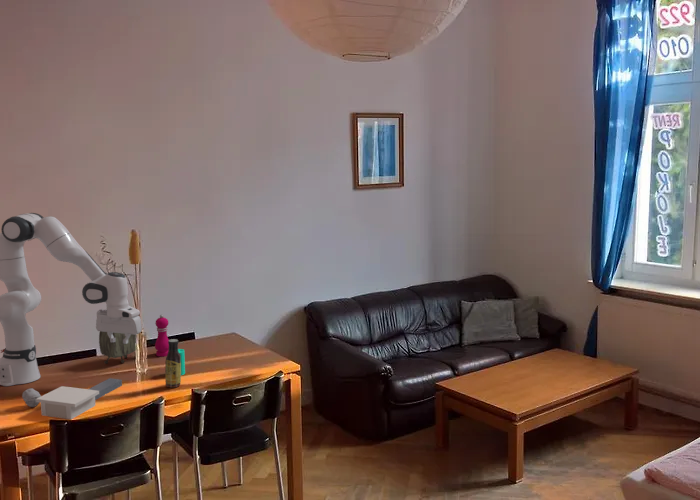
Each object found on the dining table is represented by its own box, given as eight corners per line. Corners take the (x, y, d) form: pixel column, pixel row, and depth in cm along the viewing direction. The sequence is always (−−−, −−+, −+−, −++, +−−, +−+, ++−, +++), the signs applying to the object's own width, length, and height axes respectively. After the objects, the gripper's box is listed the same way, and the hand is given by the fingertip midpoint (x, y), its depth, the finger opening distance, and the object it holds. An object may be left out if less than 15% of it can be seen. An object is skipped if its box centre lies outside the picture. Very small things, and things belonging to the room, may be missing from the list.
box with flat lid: (37, 414, 248) (36, 398, 247) (62, 401, 262) (61, 386, 261) (75, 420, 244) (74, 404, 243) (99, 406, 257) (99, 390, 256)
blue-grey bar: (93, 401, 262) (93, 394, 262) (81, 400, 264) (80, 392, 264) (122, 386, 279) (121, 379, 279) (109, 385, 281) (109, 378, 281)
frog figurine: (30, 402, 260) (29, 385, 259) (45, 404, 258) (44, 387, 257) (19, 408, 254) (17, 390, 253) (34, 410, 252) (32, 392, 251)
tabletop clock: (126, 356, 318) (124, 305, 314) (138, 360, 313) (136, 308, 309) (100, 364, 306) (97, 311, 302) (112, 368, 301) (109, 314, 297)
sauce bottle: (162, 387, 278) (160, 341, 275) (171, 382, 284) (170, 337, 281) (175, 389, 275) (174, 343, 272) (184, 384, 281) (183, 339, 278)
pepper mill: (164, 351, 326) (162, 311, 323) (173, 354, 322) (172, 314, 319) (152, 355, 320) (150, 314, 317) (161, 358, 316) (160, 317, 313)
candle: (179, 370, 299) (178, 344, 297) (187, 373, 295) (187, 347, 293) (168, 373, 294) (167, 347, 292) (176, 377, 290) (175, 350, 288)
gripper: (91, 310, 279) (93, 342, 281) (134, 314, 274) (135, 346, 276) (101, 307, 285) (102, 338, 287) (143, 310, 280) (144, 342, 282)
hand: (119, 342), depth 281 cm, fingers open, 5 cm apart
